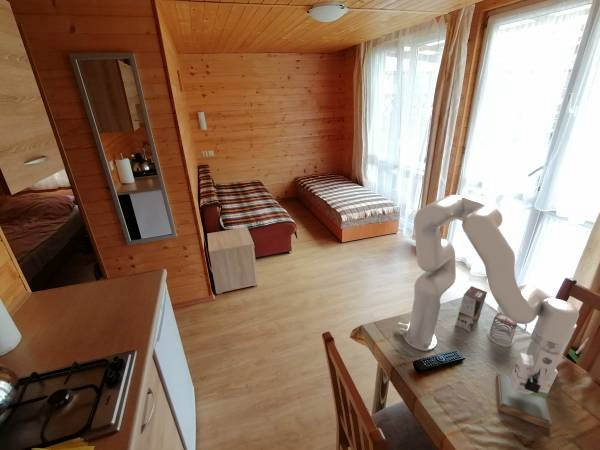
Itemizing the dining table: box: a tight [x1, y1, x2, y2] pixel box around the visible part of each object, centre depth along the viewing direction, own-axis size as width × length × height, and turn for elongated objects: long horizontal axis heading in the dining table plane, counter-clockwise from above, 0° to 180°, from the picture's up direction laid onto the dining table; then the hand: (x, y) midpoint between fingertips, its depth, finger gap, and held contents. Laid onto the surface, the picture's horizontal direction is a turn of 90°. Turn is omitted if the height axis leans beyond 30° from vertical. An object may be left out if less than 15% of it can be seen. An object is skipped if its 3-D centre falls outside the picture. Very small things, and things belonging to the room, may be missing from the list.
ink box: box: [509, 352, 559, 399], centre depth 92 cm, size 8×5×12 cm, turn 69°
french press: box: [485, 304, 528, 347], centre depth 117 cm, size 10×12×25 cm
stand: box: [495, 372, 552, 430], centre depth 97 cm, size 13×13×3 cm
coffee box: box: [455, 285, 488, 333], centre depth 126 cm, size 9×6×16 cm
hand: (529, 381), depth 93 cm, fingers closed on ink box, 5 cm apart
